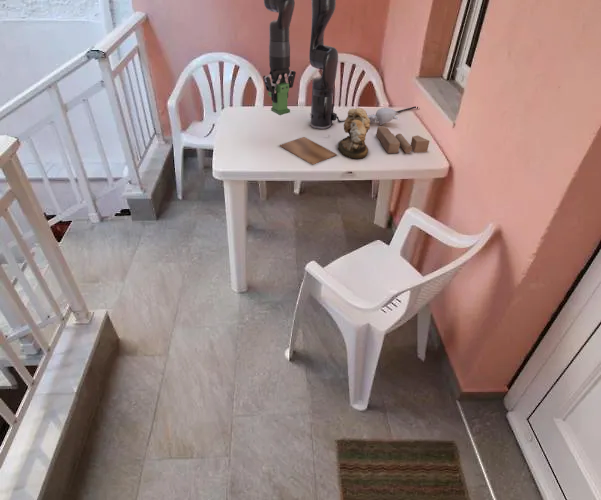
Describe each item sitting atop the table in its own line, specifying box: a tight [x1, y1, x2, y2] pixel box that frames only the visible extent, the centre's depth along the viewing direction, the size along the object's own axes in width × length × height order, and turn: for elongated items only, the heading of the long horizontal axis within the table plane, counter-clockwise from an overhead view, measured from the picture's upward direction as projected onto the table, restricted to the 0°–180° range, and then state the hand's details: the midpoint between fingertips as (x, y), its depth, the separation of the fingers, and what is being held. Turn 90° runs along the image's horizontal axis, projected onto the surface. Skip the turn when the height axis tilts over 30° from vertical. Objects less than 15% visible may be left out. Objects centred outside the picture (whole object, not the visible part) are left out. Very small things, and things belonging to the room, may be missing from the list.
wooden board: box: [279, 136, 337, 165], centre depth 167 cm, size 13×20×1 cm, turn 40°
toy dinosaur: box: [267, 82, 291, 116], centre depth 158 cm, size 11×5×12 cm
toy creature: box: [367, 107, 401, 126], centre depth 188 cm, size 13×7×20 cm
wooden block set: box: [375, 125, 430, 154], centre depth 173 cm, size 17×6×18 cm
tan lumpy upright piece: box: [337, 107, 371, 160], centre depth 164 cm, size 18×12×17 cm, turn 11°
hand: (280, 100), depth 159 cm, fingers closed on toy dinosaur, 4 cm apart
